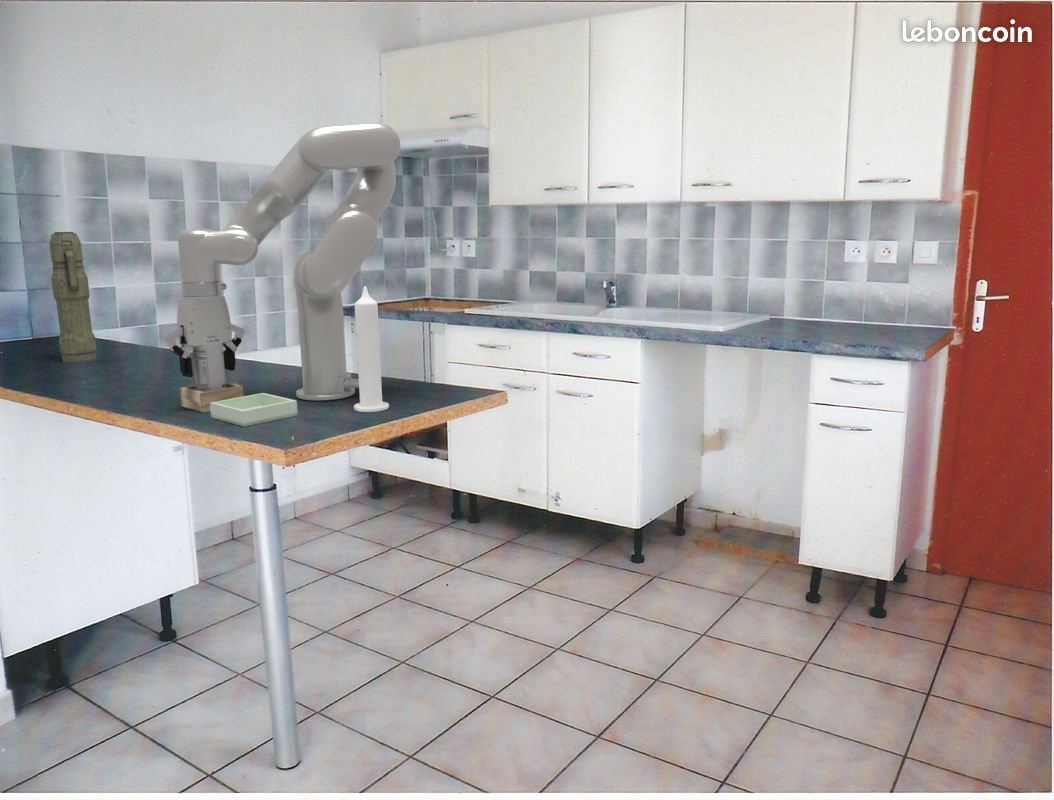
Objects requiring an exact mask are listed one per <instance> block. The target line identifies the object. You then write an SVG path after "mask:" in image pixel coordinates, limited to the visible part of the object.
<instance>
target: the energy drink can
mask: <svg viewBox="0 0 1054 800" xmlns="http://www.w3.org/2000/svg"><path fill="white" fill-rule="evenodd" d="M191 352H192V359H193V360H192V361H193V362H192V363H193V370H194V381H195V385H196V390H197V391H201V392H207V391H213V390H218V389H224V388H226V382H227V379H226V369H225V365H224V354H223V352H224V347H223V343H222V342H221V341H220V340H219V339H218V338H216V335H214V336H208V339H207V340H206V341H205V342H204V343H203V344H202V346H200V347H194V348H193V350H192V351H191Z"/></svg>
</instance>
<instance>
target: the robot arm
mask: <svg viewBox="0 0 1054 800" xmlns="http://www.w3.org/2000/svg"><path fill="white" fill-rule="evenodd" d="M400 151H401V140H400V137H399V135H398V133H397V132H396V131H395V129H393V128H392V127H391V126H389V125H387V124H386V123H379V122H374V123H373V122H371V123H363V124H362V123H361V124H360V123H359V124H349V125H330V126H328V125H326V126H318V127H317V126H316V127H314V128H312V129H310V130H308V131H307V132H305V133H304V134H302V136H300V138H299V139H298V140H297V142H296V143H294V145H293V146H292V147H291V149H290V150H289V151H288V152H287V153H286V154H285V156H283V158H282V159H281V160H280V161H279V163H278V164H277V165H276V166H275V168H273V170H272V171H271V172H270V173H269V174H268V176H267V177H266V178H265V179H264V180H263V181H262V182H261V184H260V185H259V187H257V189H256V190H255V192H254V194H253V195H252V196H251V197H250V199H248V201H247V202H246V203H245V204H244V205H243V206H242V208H241V209H240V210H239V212H237V213H236V215H235V216H234V217H233V218H232V219H231V220H230V222H229V223H228V224H227V225H226V226H225V228H224V229H219V230H212V229H205V228H204V229H203V228H201V229H200V228H196V229H195V228H194V229H193V228H191V229H190V228H189V229H183V230H180V232H178V234H177V242H178V243H177V244H178V245H177V246H178V254H179V265H180V278H181V290H182V297H179V298H178V303H177V312H176V314H177V315H176V329H175V330H173V332H171V333H170V334H168V335H167V336H165V337H164V341H165V343H166V345H167V346H168V347H169V350H170V351H171V352H172V353H174V355H176V357H178V360H179V369H180V373H181V374H182V376H183V377H187V378H192V377H193V376H194V374H193V362H192V361H193V360H192V358H191V357H189V356H190V355H191V352H192V350H193V348H194V347H200V346H202V344H203V343H204V342H205V341H206V340H207V339H208V336H214V335H216V338H218V339H219V340H220V341H221V342H222V343H223V349H224V350H223V354H224V365H225V371H227V370H228V371H231V372H232V371H235V370H236V361H237V360H236V352H237V350H238V347H239V346H240V344H241V343H242V339H243V337H244V334H245V331H246V330H245V329H244V328H242V327H240V326H237V325H236V324H233V323H231V322H232V321H231V316H230V311H229V307H228V302H227V299H226V296H224V295H223V291H225V290H227V284H226V283H225V282H222V280H221V270H220V269H221V268H220V265H232V266H233V265H234V266H244V265H247V264H249V263H251V262H252V261H254V260H255V258H256V257H257V255H258V252H259V245H260V244H261V243H262V242H263V241H264V240H265V239H266V238H267V236H268V235H269V234H270V233H271V232H272V231H273V230H274V229H275V227H277V225H279V224H280V223H281V222H282V221H283V220H284V219H286V218H288V217H289V216H291V215H292V214H293V213H295V212H296V210H298V208H300V206H301V205H302V204H303V203H304V202H305V201H306V200H307V198H308V197H310V195H311V193H312V192H313V191H314V190H315V189H316V187H317V186H318V185H319V183H321V181H322V180H323V179H324V178H325V177H326V175H328V173H330V171H331V170H345V169H346V170H349V169H356V170H357V171H356V177H355V179H354V181H353V182H352V184H351V186H350V187H349V189H348V190H347V192H346V194H345V196H344V197H343V198H342V199H341V201H340V203H338V205H337V207H336V208H335V210H333V212H332V214H331V215H330V216H328V219H327V221H326V223H325V226H324V235H323V236H322V238H321V239H320V240H319V242H318V244H317V245H316V247H315V248H314V249H311V250H308V251H306V252H304V253H302V254H301V255H300V256H299V257H298V259H297V261H296V263H295V264H294V269H293V280H294V281H293V282H294V288H295V290H294V291H295V295H296V305H297V313H298V315H297V316H298V330H299V331H298V333H299V345H300V359H301V362H300V363H301V373H302V387H301V388H300V389H297V390H296V397H297V398H298V399H301V400H303V401H304V400H306V401H331V400H340V399H346V398H349V397H351V396H354V395H355V393H356V389H359V378H353V377H352V374H351V372H348V371H347V359H346V356H347V353H346V341H345V339H346V337H345V325H344V324H345V321H344V318H345V317H344V307H343V297H342V292H343V291H344V290H345V289H346V288H347V286H348V285H349V283H351V281H352V279H353V278H354V276H355V275H356V274H357V272H358V271H359V269H360V268H361V267H362V264H363V263H364V262H365V260H366V258H367V257H368V255H370V253H371V252H372V249H373V248H374V246H375V243H376V241H377V237H378V228H377V227H378V226H377V223H378V221H379V219H380V218H381V216H382V215H383V213H384V211H385V210H386V208H387V207H388V205H389V203H390V202H391V199H392V198H393V195H394V192H395V189H396V185H397V184H396V183H397V170H396V164H395V160H396V159H397V158H398V156H399V154H400ZM233 332H234V337H233V335H232V334H233ZM176 341H177V342H176ZM177 343H178V344H179V345H180V346H179V345H178V344H177Z"/></svg>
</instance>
